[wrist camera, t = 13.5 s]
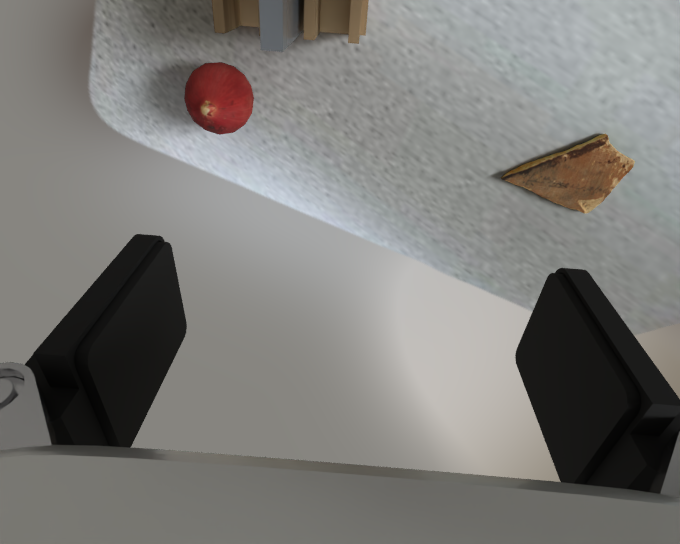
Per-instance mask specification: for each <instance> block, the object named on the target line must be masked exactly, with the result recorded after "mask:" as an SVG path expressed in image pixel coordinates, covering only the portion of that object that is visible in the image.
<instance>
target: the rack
mask: <svg viewBox="0 0 680 544" xmlns="http://www.w3.org/2000/svg"><path fill="white" fill-rule="evenodd" d="M212 8H213V18H214V29H215V33H227V32H229V31H231V30H233V29H235V28H237V27H239V26H251V27H259V36H260V14H259V0H212ZM367 11H368V0H304V30H303V31H304V39H305V40H315V38H316V37H317V35H318V34H319V33H320V32H328V33H341V34H349V39H348V43H357V44H359V36H360V35H365V34H366V22H367Z"/></svg>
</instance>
